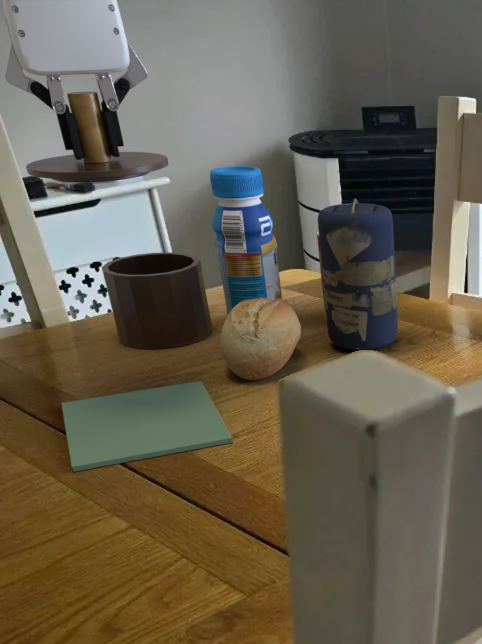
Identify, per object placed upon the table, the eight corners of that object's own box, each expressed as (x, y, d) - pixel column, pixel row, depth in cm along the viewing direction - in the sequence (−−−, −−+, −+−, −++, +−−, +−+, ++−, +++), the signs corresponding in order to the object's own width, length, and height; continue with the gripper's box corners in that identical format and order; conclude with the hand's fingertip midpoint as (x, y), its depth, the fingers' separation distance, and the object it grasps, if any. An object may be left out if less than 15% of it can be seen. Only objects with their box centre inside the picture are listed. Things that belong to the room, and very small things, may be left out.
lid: (32, 190, 78) (7, 102, 74) (26, 170, 88) (4, 91, 84) (180, 178, 82) (164, 94, 78) (158, 160, 92) (144, 85, 88)
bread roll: (311, 343, 113) (304, 283, 108) (295, 384, 101) (286, 318, 96) (241, 344, 113) (231, 284, 108) (216, 385, 101) (204, 319, 96)
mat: (73, 472, 82) (71, 466, 82) (62, 407, 96) (61, 402, 95) (233, 442, 87) (232, 437, 87) (202, 385, 101) (201, 380, 100)
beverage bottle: (217, 320, 121) (190, 169, 110) (267, 309, 126) (247, 162, 114) (246, 334, 116) (221, 176, 104) (297, 321, 121) (279, 169, 109)
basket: (125, 354, 110) (107, 280, 104) (115, 327, 119) (98, 258, 114) (219, 340, 114) (207, 269, 109) (203, 315, 124) (190, 248, 118)
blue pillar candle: (318, 352, 110) (302, 205, 99) (342, 330, 117) (330, 190, 107) (387, 357, 108) (378, 207, 97) (407, 334, 115) (401, 193, 105)
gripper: (131, -71, 79) (172, 146, 90) (-58, -74, 73) (9, 158, 84) (143, -78, 73) (184, 155, 84) (-61, -82, 68) (11, 168, 79)
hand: (96, 154), depth 84 cm, fingers closed on lid, 2 cm apart
